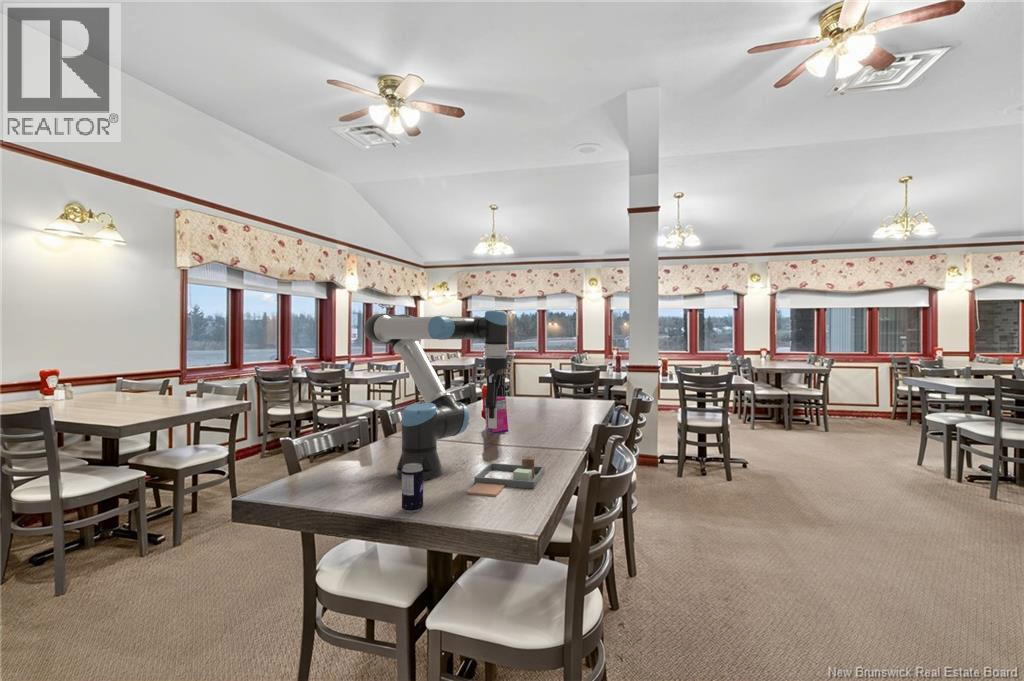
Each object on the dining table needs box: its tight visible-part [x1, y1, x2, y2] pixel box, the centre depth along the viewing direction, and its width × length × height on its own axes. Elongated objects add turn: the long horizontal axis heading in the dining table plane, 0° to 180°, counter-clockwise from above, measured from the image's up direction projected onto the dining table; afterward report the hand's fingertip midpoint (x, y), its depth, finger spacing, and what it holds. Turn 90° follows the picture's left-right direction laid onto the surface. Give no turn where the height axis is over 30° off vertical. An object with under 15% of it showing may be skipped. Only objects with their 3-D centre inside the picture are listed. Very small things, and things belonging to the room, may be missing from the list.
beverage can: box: [401, 463, 424, 514], centre depth 126 cm, size 6×6×12 cm
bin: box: [473, 462, 546, 489], centre depth 154 cm, size 19×17×2 cm
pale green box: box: [512, 468, 533, 481], centre depth 149 cm, size 5×4×4 cm
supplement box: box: [483, 396, 509, 435], centre depth 156 cm, size 6×6×12 cm
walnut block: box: [521, 455, 535, 479], centre depth 157 cm, size 4×4×6 cm
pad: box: [466, 483, 506, 497], centre depth 142 cm, size 9×9×1 cm
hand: (496, 425), depth 156 cm, fingers closed on supplement box, 8 cm apart
